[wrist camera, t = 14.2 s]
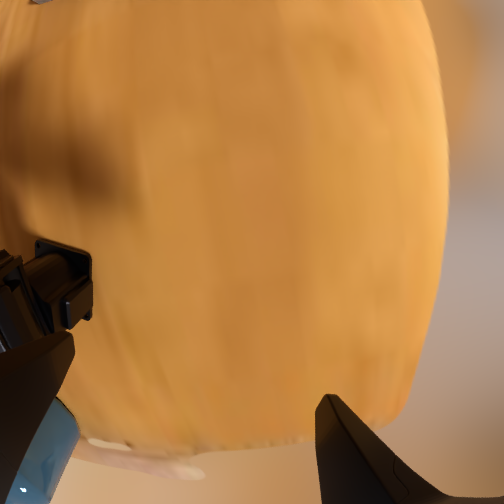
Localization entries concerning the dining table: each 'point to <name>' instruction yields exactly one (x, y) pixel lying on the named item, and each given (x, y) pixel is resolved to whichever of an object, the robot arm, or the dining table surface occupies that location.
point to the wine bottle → (45, 457)
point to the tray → (41, 1)
